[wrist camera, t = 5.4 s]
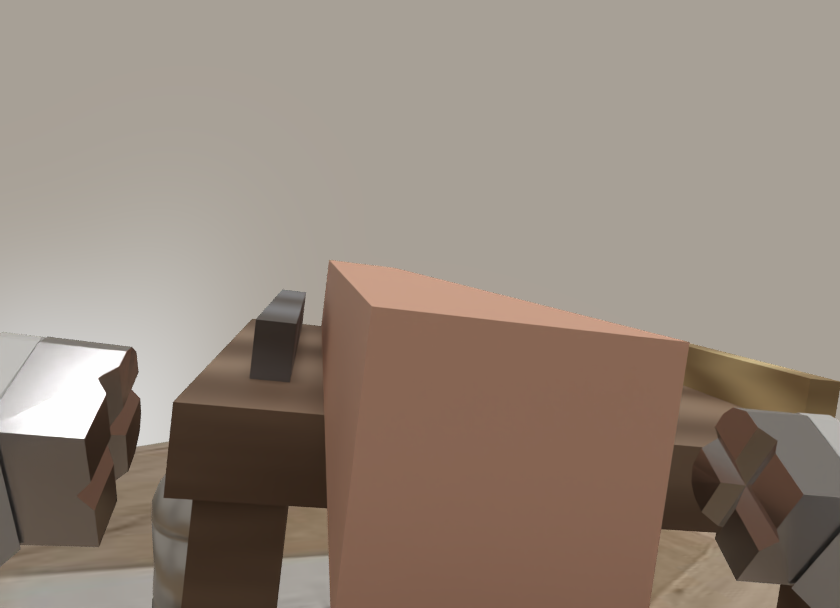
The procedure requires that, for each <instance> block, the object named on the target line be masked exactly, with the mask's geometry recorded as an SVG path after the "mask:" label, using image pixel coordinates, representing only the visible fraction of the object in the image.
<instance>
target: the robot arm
mask: <svg viewBox="0 0 840 608" xmlns="http://www.w3.org/2000/svg"><path fill="white" fill-rule="evenodd" d="M137 374H138V363H137V354H136V351H135V350H134V349H133V348H132V347H128V346H120V345H111V344H103V343H94V342H86V341H79V340H69V339H62V338H54V337H47V338H45V337H40V336H31V335H23V334H15V333H7V332H2V333H0V567H1V566H2V565H3V564H4V563H5V562H6V561H8V560H9V559H10V558H11V557H12V556H13V555H15V554H16V553H17V552H18V551H19V550H20V545H41V546H79V547H99V546H100V543H101V541H102V538H103V535H104V533H105V530H106V528H107V525H108V523H109V520H110V517H111V515H112V512H113V510H114V507H115V505H116V502H117V494H116V483H115V480H117V479H118V478H120V477H121V476H122V475H124V474H125V473H126V472H128V471H129V468H130V465H131V462H132V459H133V457H134V454H135V450H136V445H137V441H138V436H139V431H140V419H141V405H140V398H139V397H138V396H137V395H136V394H135V393H134V392H133V391H132V390H131V389H132V386H133V384H134V382H135V379H136V377H137ZM715 429H716V433H717V437H718V438H717V439H716V440H714V441H712V442H711V443H709V444H708V445H706V446H704V447H703V448H702V449H701V450H700V452H699V454H698V456H697V458H696V460H695V461H694V463H693V468H692V480H691V484H692V488H693V493H694V497H695V499H696V501H697V504H698V506H699V508H700V510H701V512H702V513H703V514H705V515H706V516H707V517H708V518H709V519H710V520H712V521H713V522H714V523H715V524H716V525H718V528H717V532H716V537H715V540H716V542H717V543H718V545H719V547H720V549H721V551H722V553H723V555H724V557H725V559H726V561H727V563H728V565H729V567H730V569H731V571H732V573H733V575H734V577H735V579H736V581H746V582H758V583H770V584H782V585H794V586H793V587H792V589H793V590H794V591H795V592H796V593H797V594H798V595H799V596H800V597H801V598H802V599H803V600H804V601H805V602H806V603H807V604H808V605H809V606H810V607H811V608H840V421H839V420H837V419H835V418H834V417H832V416H830V415H822V414H809V413H789V412H778V411H767V410H756V409H746V408H735V407H733V408H731V409H730V410H728V411H727V412H725V413H724V414H723V415H722V416H721V418H720V419H719V421H718V423H717V424H716V426H715Z"/></svg>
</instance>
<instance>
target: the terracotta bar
mask: <svg viewBox="0 0 840 608" xmlns="http://www.w3.org/2000/svg"><path fill="white" fill-rule="evenodd" d="M321 328H322V359H323V390H324V421H325V452H326V483H327V514H328V545H329V576H330V607H331V608H649V605H650V598H651V592H652V585H653V579H654V572H655V565H656V559H657V552H658V546H659V539H660V533H661V526H662V520H663V513H664V507H665V500H666V494H667V487H668V481H669V474H670V467H671V461H672V454H673V448H674V441H675V435H676V428H677V422H678V415H679V409H680V402H681V396H682V389H683V382H684V376H685V369H686V363H687V356H688V350H689V342H686V341H683V340H679V339H675V338H671V337H666V336H662V335H659V334H655V333H651V332H647V331H642V330H639V329H635V328H631V327H627V326H623V325H619V324H615V323H611V322H607V321H603V320H599V319H595V318H591V317H588V316H583V315H580V314H576V313H572V312H568V311H564V310H560V309H556V308H552V307H548V306H544V305H539V304H536V303H532V302H528V301H524V300H520V299H516V298H512V297H508V296H504V295H500V294H496V293H492V292H488V291H484V290H480V289H476V288H472V287H468V286H464V285H460V284H457V283H453V282H449V281H445V280H441V279H437V278H433V277H428V276H424V275H421V274H416V273H413V272H409V271H405V270H401V269H397V268H391V267H382V266H374V265H366V264H357V263H349V262H342V261H334V260H329V266H328V274H327V283H326V291H325V301H324V309H323V318H322V326H321Z"/></svg>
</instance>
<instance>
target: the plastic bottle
mask: <svg viewBox="0 0 840 608" xmlns="http://www.w3.org/2000/svg"><path fill="white" fill-rule="evenodd" d="M165 477H166V474H165V476H164V477H163V478H162V480H161V481H160V483H159V485H158V487H157V489H156V492H155V494H154V497H153V499H152V516H151V517H152V536H153V556H154V577H153V599H152V608H181V604H182V594H183V585H184V575H185V566H186V556H187V547H188V537H189V528H190V518H191V509H192V500H188V499H172V498H163V497H164V487H165Z"/></svg>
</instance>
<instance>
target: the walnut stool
mask: <svg viewBox="0 0 840 608" xmlns="http://www.w3.org/2000/svg"><path fill="white" fill-rule="evenodd" d="M305 295H306V292H298V291H288V290H282V291H281V292H280V293H279V294H278V295H277V296H276V297H275V299H274V300H273V301H272V302H271V303H270V304H269V306H268V307H267V308H266V309H265V310H264V311H263V312H262V313H261V314H260V315H259V316H258V318H257V319H252V320H251V321H250V322H249V323H248V324H247V325H246V326H245V327H244V328H243V329H242V330H241V331H240V332H239V333H238V334H237V335H236V337H235V338H234V339H233V340H232V341H231V342H230V343H229V344H228V345H227V346H226V347H225V348H224V349H223V350H222V351H221V352H220V353H219V354H218V355H217V356H216V358H215V359H214V360H213V361H212V362H211V363H210V364H209V365H208V366H207V367H206V368H205V369H204V370H203V371H202V372H201V373H200V374H199V375H198V377H196V379H195V380H194V381H193V382H192V383H191V384H190V385H189V386H188V387H187V388H186V389H185V390H184V391H183V392H182V393H181V394H180V395H179V396H178V398H177V399H176V400H175V401H174V402H173V409H172V419H171V428H170V438H169V448H168V458H167V468H166V477H165V487H164V497H163V498H172V499H188V500H192V509H191V518H190V528H189V537H188V547H187V556H186V566H185V575H184V585H183V594H182V604H181V608H277V601H278V592H279V584H280V575H281V566H282V557H283V549H284V540H285V531H286V523H287V514H288V506H300V507H316V508H327V483H326V452H325V421H324V390H323V359H322V328H321V326H315V325H306V324H302V322H303V313H304V304H305ZM839 391H840V382H839V381H835V380H832V379H828V378H824V377H820V376H816V375H812V374H807V373H804V372H800V371H796V370H792V369H788V368H784V367H781V366H776V365H772V364H769V363H764V362H761V361H757V360H753V359H749V358H745V357H741V356H737V355H733V354H730V353H726V352H722V351H718V350H714V349H710V348H706V347H702V346H698V345H694V344H690V343H689V350H688V356H687V363H686V369H685V376H684V382H683V389H682V396H681V402H680V409H679V415H678V422H677V428H676V435H675V441H674V448H673V454H672V461H671V467H670V474H669V481H668V487H667V494H666V500H665V507H664V513H663V520H662V526H661V529H667V530H683V531H699V532H715V533H716V532H717V528H718V525H716V524H715V523H714V522H713V521H712V520H710V519H709V518H708V517H707V516H706V515H705V514H703V513H702V512H701V510H700V508H699V506H698V504H697V501H696V499H695V497H694V493H693V488H692V484H691V480H692V468H693V463H694V461H695V460H696V458H697V456H698V454H699V452H700V450H701V449H702V448H703V447H704V446H706V445H708V444H709V443H711V442H712V441H714V440H716V439H717V438H718V437H717V433H716V429H715V426H716V424H717V423H718V421H719V419H720V418H721V416H722V415H723V414H724V413H725V412H727V411H728V410H730V409H731V408H733V407H735V408H746V409H756V410H767V411H778V412H789V413H809V414H822V415H830V416H832V417H834V418H835V415H836V409H837V403H838V397H839ZM793 586H794V585H782V584H781V585H780V591H779V597H778V603H777V608H811V607H810V606H809V605H808V604H807V603H806V602H805V601H804V600H803V599H802V598H801V597H800V596H799V595H798V594H797V593H796V592H795V591H794V590H793V589H792V587H793Z"/></svg>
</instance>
